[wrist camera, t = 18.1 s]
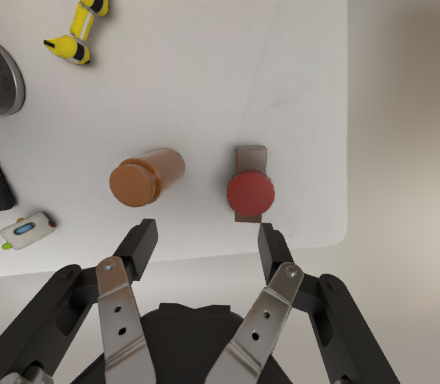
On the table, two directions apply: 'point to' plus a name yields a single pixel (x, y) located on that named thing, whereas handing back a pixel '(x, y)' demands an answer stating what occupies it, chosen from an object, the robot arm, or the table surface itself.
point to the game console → (5, 196)
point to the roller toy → (26, 231)
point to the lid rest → (250, 160)
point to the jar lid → (250, 192)
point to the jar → (146, 177)
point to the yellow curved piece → (78, 32)
